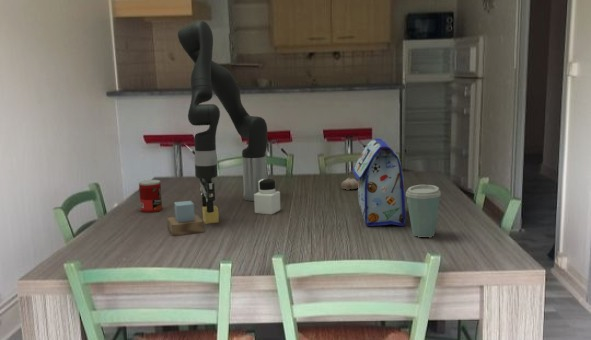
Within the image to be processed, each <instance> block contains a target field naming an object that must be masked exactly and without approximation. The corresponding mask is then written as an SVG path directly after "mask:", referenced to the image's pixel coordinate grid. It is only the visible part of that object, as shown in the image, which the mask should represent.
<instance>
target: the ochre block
mask: <svg viewBox="0 0 591 340" xmlns="http://www.w3.org/2000/svg"><path fill="white" fill-rule="evenodd" d="M219 219H220V216H219V208H218V206H216V205H214V212H211V213H208V212H207V206H206V207H203V206H202V221H203V223H204V224H206V225H207V224H215V223H220V221H219Z"/></svg>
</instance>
